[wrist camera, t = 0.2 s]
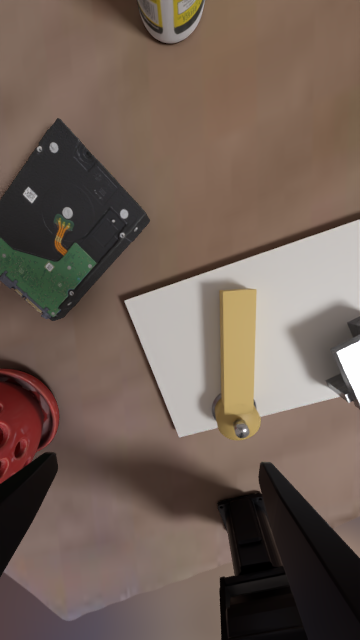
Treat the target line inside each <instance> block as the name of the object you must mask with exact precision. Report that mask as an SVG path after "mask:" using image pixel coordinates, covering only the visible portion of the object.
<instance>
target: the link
mask: <svg viewBox="0 0 360 640" xmlns="http://www.w3.org/2000/svg"><path fill="white" fill-rule="evenodd" d="M219 293H220V353H221V398H220V399H219V401H218V402H217V404H216V406H215V416H216V421H217V426H218V429H219V431H220V432H221V433H222V434H223V435H224V436H225V437H227V438H229V439H232V440H244V439H247V438H250V437H251V436H253V435H254V434H255V433H256V432H257V431H258V429H259V427H260V423H261V419H260V415H259V413H258V411H257V410H256V408H255V406H254V368H255V331H256V294H257V289H251V288H247V289H231V290H219ZM237 419H243V420H245V422H246V424H247V426H248V429H249V431H250V433H249V435H248V436H247V437H246V438H239V437H237V436H236V434H235V430H234V427H233V422H234V421H235V420H237Z"/></svg>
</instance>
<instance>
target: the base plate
mask: <svg viewBox="0 0 360 640" xmlns="http://www.w3.org/2000/svg"><path fill="white" fill-rule="evenodd" d="M247 288H251V289H257V294H256V331H255V368H254V400H255V403H256V407H257V411H258V413H259V415H260V417H262V416H266V415H270V414H273V413H277V412H281V411H285V410H289V409H293V408H297V407H301V406H305V405H309V404H313V403H317V402H321V401H325V400H328V399H332V398H336V397H340V396H339V395H338V394H336V393H335V392H334V391H333V390H331V389H330V388H329V387H328V385H327V383H326V381H325V380H327V379H330V378H332V377H334V376H336V375H338V374H340V370H339V368H338V366H337V364H336V362H335V359H334V357H333V355H332V353H331V351H330V349H331V348H333V347H335V346H337V345H339V344H341V343H343V342H345V341H347V340H349V339H351V338H353V336H352V334H351V331H350V329H349V327H348V324H347V322H349V321H351V320H353V319H355V318H357V317H359V316H360V219H359V220H356V221H353V222H351V223H348V224H345V225H342V226H339V227H336V228H333V229H330V230H327V231H325V232H322V233H319V234H316V235H313V236H310V237H307V238H304V239H301V240H298V241H296V242H293V243H290V244H287V245H284V246H281V247H278V248H275V249H272V250H270V251H267V252H264V253H261V254H258V255H255V256H252V257H249V258H246V259H243V260H241V261H238V262H235V263H232V264H229V265H226V266H223V267H220V268H217V269H215V270H212V271H209V272H206V273H203V274H200V275H197V276H194V277H191V278H188V279H186V280H183V281H180V282H177V283H174V284H171V285H168V286H165V287H162V288H159V289H157V290H154V291H151V292H148V293H145V294H142V295H139V296H136V297H133V298H131V299H128V300H125V304H126V306H127V309H128V311H129V314H130V316H131V319H132V321H133V324H134V326H135V329H136V331H137V334H138V336H139V339H140V341H141V344H142V346H143V349H144V351H145V354H146V356H147V359H148V361H149V364H150V366H151V369H152V371H153V373H154V376H155V378H156V381H157V383H158V386H159V388H160V391H161V393H162V396H163V398H164V401H165V403H166V406H167V408H168V411H169V413H170V416H171V418H172V421H173V423H174V426H175V428H176V431H177V433H178V436H179V437H183V436H187V435H191V434H195V433H199V432H203V431H207V430H211V429H215V428H218V426H217V421H216V420H215V419H214V417H213V414H212V404H213V401H214V400H215V398H216V397H217V396H218V395H219V394H220V393H221V353H220V293H219V290H231V289H247Z"/></svg>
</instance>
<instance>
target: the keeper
mask: <svg viewBox="0 0 360 640" xmlns="http://www.w3.org/2000/svg"><path fill="white" fill-rule="evenodd" d="M347 324H348V327H349V329H350V331H351V334H352V336H353V338H351V339H349V340H347V341H345V342H343V343H341V344H339V345H337V346H335V347H333V348H331V349H330V351H331V353H332V355H333V357H334V359H335V362H336V364H337V366H338V368H339V370H340V374H338V375H336V376H334V377H332V378H330V379H327V380H325V381H326V383H327V385H328V387H329V388H330V389H331V390H333V391H334V392H335V393H336V394H338V395H339V396H340V397H342V398H343V399H344V400H346V401H347V402H348V403H349V402H352V401H353V402H354V404H355V406H356V407H357V408H359V409H360V316H359V317H357V318H355V319H353V320H351V321H349V322H347Z"/></svg>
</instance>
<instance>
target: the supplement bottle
mask: <svg viewBox="0 0 360 640" xmlns="http://www.w3.org/2000/svg"><path fill="white" fill-rule="evenodd" d="M204 2H205V0H137V3H138V8H139V12H140V15H141V18H142V21H143V23H144V25H145V27H146V29H147V30H148V31H149V33H150V34H151V35H152V36H153V37H154V38H156V39H157V40H159V41H161V42H164V43H177V42H180V41H182V40H184V39H185V38H187V37H188V36H189V35H190V34H191V33H192V32H193V31H194V30H195V28H196V26H197V25H198V23H199V20H200V18H201V15H202V12H203V8H204Z"/></svg>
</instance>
